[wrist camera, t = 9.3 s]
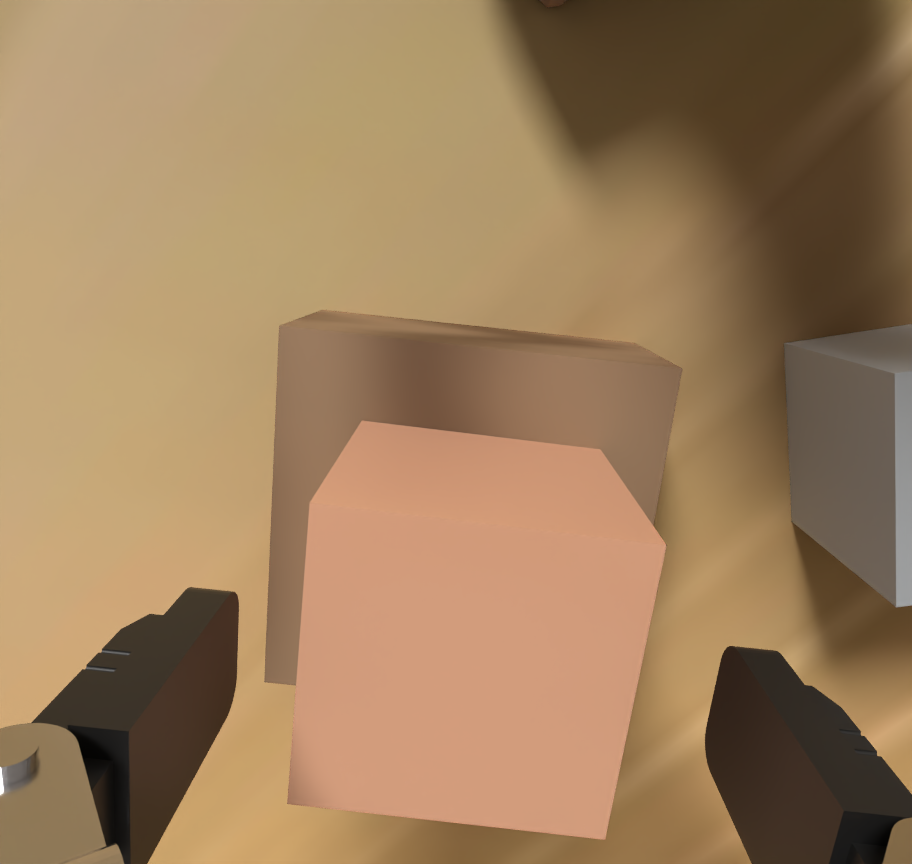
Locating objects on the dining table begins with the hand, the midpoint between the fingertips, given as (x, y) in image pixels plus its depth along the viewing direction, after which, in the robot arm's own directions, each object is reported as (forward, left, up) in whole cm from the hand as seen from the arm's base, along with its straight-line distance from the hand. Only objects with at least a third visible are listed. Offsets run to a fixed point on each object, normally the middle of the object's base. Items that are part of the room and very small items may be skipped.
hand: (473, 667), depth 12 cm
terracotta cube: (0, 0, -5) cm, 5 cm away
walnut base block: (0, 0, -10) cm, 10 cm away
